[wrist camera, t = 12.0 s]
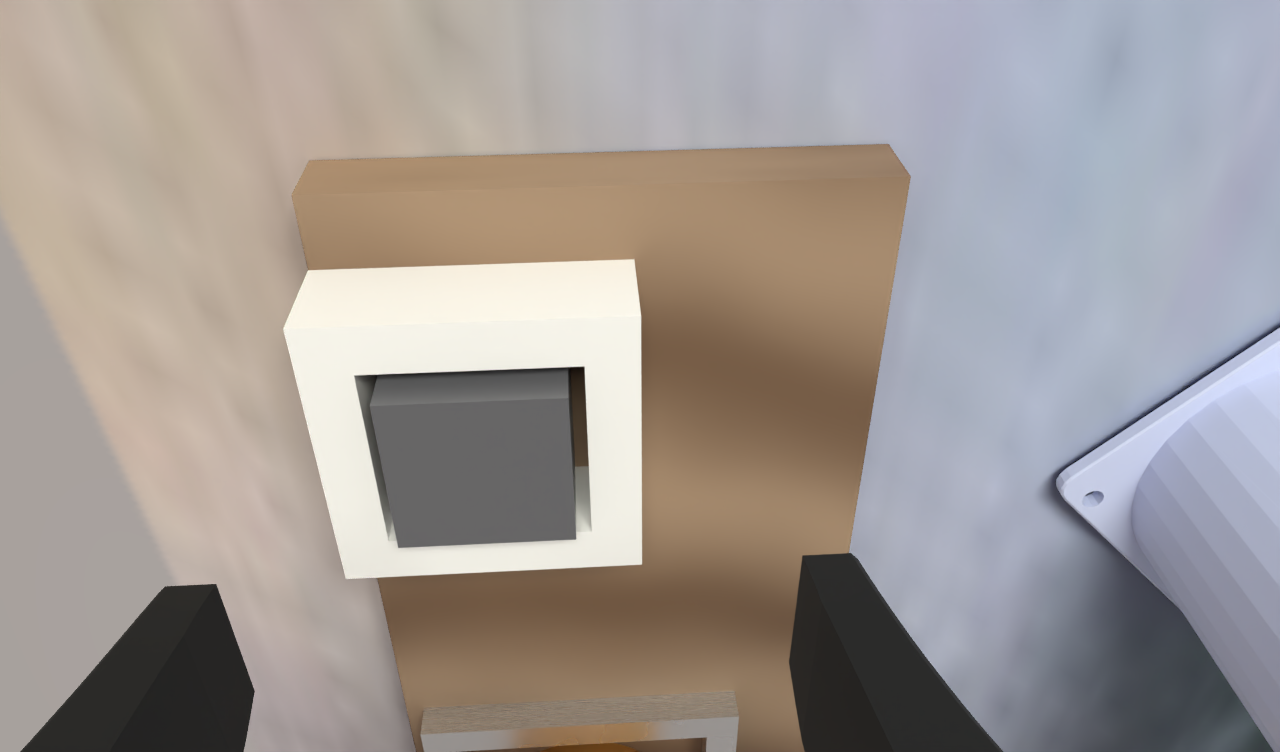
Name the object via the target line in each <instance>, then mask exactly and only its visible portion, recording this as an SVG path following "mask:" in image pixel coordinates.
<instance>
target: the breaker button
mask: <svg viewBox="0 0 1280 752" xmlns="http://www.w3.org/2000/svg"><path fill="white" fill-rule="evenodd" d="M370 411H371V416H372V421H373V426H374V430H375V435H376V440H377V445H378V450H379V455H380V460H381V465H382V470H383V475H384V480H385V485H386V490H387V495H388V500H389V505H390V510H391V515H392V520H393V525H394V530H395V535H396V540H397V544H398V548H408V547H429V546H450V545H471V544H492V543H513V542H534V541H555V540H576V487H575V449H574V430H573V412H572V393H571V375H570V367H558V368H532V369H507V370H481V371H455V372H430V373H404V374H379V375H378V376H377V380H376V383H375V387H374V391H373V395H372V399H371V403H370Z"/></svg>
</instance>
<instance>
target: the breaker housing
mask: <svg viewBox="0 0 1280 752" xmlns="http://www.w3.org/2000/svg"><path fill="white" fill-rule="evenodd" d="M283 330H284V334H285V338H286V342H287V346H288V350H289V354H290V358H291V362H292V366H293V370H294V374H295V378H296V382H297V386H298V390H299V394H300V398H301V402H302V406H303V410H304V414H305V418H306V422H307V426H308V430H309V434H310V438H311V442H312V446H313V450H314V454H315V458H316V462H317V466H318V470H319V474H320V478H321V482H322V486H323V490H324V494H325V498H326V502H327V506H328V510H329V514H330V518H331V522H332V526H333V530H334V534H335V538H336V542H337V546H338V550H339V554H340V558H341V561H342V565H343V569H344V573H345V577H346V579H358V578H379V577H399V576H419V575H440V574H460V573H481V572H501V571H522V570H542V569H562V568H583V567H603V566H624V565H642V412H641V311H640V302H639V294H638V286H637V277H636V269H635V261H634V259H627V260H598V261H568V262H539V263H509V264H480V265H450V266H421V267H391V268H362V269H332V270H308V272H307V274H306V277H305V279H304V281H303V284H302V286H301V288H300V291H299V293H298V295H297V298H296V300H295V302H294V305H293V307H292V310H291V312H290V314H289V317H288V319H287V321H286V324H285V326H284V328H283ZM583 366H584V367H585V390H586V412H587V435H588V458H589V466H579V467H575V487H576V540H555V541H534V542H513V543H492V544H471V545H450V546H429V547H408V548H398V544H397V540H396V535H395V530H394V525H393V520H392V515H391V510H390V505H389V500H388V495H387V490H386V485H385V480H384V475H383V470H382V465H381V460H380V455H379V450H378V445H377V440H376V435H375V430H374V426H373V421H372V416H371V411H370V403H371V399H372V395H373V391H374V387H375V383H376V380H377V376H378V375H379V374H404V373H430V372H455V371H481V370H507V369H532V368H558V367H583Z"/></svg>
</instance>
